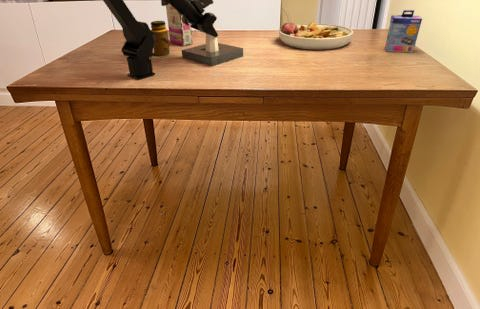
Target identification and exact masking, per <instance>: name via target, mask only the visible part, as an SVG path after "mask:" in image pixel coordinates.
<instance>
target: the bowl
mask: <svg viewBox="0 0 480 309" xmlns="http://www.w3.org/2000/svg"><path fill="white" fill-rule="evenodd" d="M278 36H279V38H280V40H281V41H282V43H283V44H285V45H287V46H289V47H292V48H295V49H302V50H313V51H314V50H315V51H317V50H319V51H321V50H322V51H324V50H332V49H339V48H342V47H343V46H346V45H347V44H349V43H350V42H351V40H352V39H353V37H354V31H353V29H351V28H349V27H346V26H343V25H336V24H329V23H315V22H310V23H298V24H297V23H294V22H285V23H283V24H282V26H281V28H280V29H279V31H278Z"/></svg>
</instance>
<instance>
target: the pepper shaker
mask: <svg viewBox="0 0 480 309" xmlns="http://www.w3.org/2000/svg"><path fill="white" fill-rule="evenodd" d="M215 24H216V23H215V22H214V24H213V27H214V28H215ZM218 43H219V42H218V36H217V37H214V36H211V35H209V34H206V33H205V44H206V47H205V51H208V52H216V51H219V48H218Z"/></svg>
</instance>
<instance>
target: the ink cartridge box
mask: <svg viewBox="0 0 480 309" xmlns="http://www.w3.org/2000/svg"><path fill="white" fill-rule="evenodd" d="M414 13H415V9H411V10H410V9H407V10H406V9H404V10H403V12H402V14H400V15H399V14H394V15H393V14H392V15H391V16H390V20H389V22H390V23H389V27H388V32H387V36H386V41H385V44H384V45H385V46H384V49H385V52H390V53H414V51H415V48H416V44H417V43H416V42H417V40H418V35H419V32H420V28H421V24H422V22H423V18H422V17H421V16H420V15H414Z"/></svg>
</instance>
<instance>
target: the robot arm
mask: <svg viewBox="0 0 480 309" xmlns="http://www.w3.org/2000/svg"><path fill="white" fill-rule="evenodd" d="M102 1H103V3H104V4H105V6H107V9H109V11H110V12H111V14H112V15H113V17H114V18H115V19H116V21H117V22H118V23H119V25H120V26H121V28H122V33H123V34H122V35H123V37H124V40H125V42H124V44H123V46H121V53H122V54H123V56H124V57H125V56H126V60H127V67H128V73H127V76H128V77H131V78H133V79H135V80H142V79H145V78H148V77H151V76H154V75H156V73H155V72H154V71H153V70H154V69H153V63H152V59H151V57H152V53H154V48H153V46H154V42H155V39H154V37H153V34H154V33H153V32H152V31H151V27H149V24H147V22H144V21H143V22H142V21H140V20H137V19H136V17H135V16H134V14H133V13H132V11H131V9H130V8H129V7H128V6H127V4H126V2H125V0H102ZM168 4H170V5H171V6H172V7H173V8H174V9H175V10H177V11H178V14H179V15H182V22H183V23H184V24H185V25H187V26H189V24H188V23H190V24H191V26H190V27H191V29H194V30H197V31H199V32H201V33H204V34H205V35H206V34H209V35H211V36H214V37H217V38H218V36H219V33H218V31H217V30H216V28H215V26H214V27H213V24H214V23H215V22H216V21H217V19H218V17H217V16H216V15H215V14H214V13H212V12H205V11H206V10H205V9H206V8H207V7H209V6H210V5H213V4H214V0H160V5H161V6H162V7H166V5H168ZM204 12H205V13H204ZM187 22H188V23H187Z"/></svg>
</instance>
